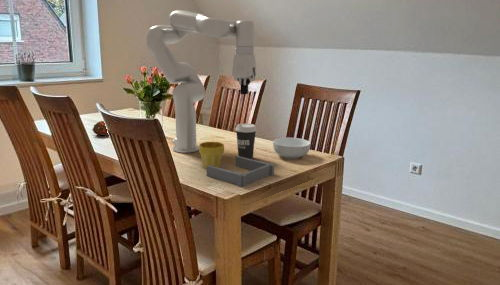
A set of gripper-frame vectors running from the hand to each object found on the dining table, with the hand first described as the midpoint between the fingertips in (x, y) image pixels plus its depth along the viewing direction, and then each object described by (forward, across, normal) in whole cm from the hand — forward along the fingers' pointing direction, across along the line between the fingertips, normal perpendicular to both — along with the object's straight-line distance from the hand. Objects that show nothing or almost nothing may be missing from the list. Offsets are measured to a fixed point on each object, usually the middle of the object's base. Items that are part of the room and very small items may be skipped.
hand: (244, 94), depth 190 cm
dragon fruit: (+29, -85, -19) cm, 91 cm away
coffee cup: (+29, 0, +1) cm, 29 cm away
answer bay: (+29, +13, -18) cm, 37 cm away
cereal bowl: (+30, +14, +18) cm, 37 cm away
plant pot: (+29, -2, -19) cm, 35 cm away
